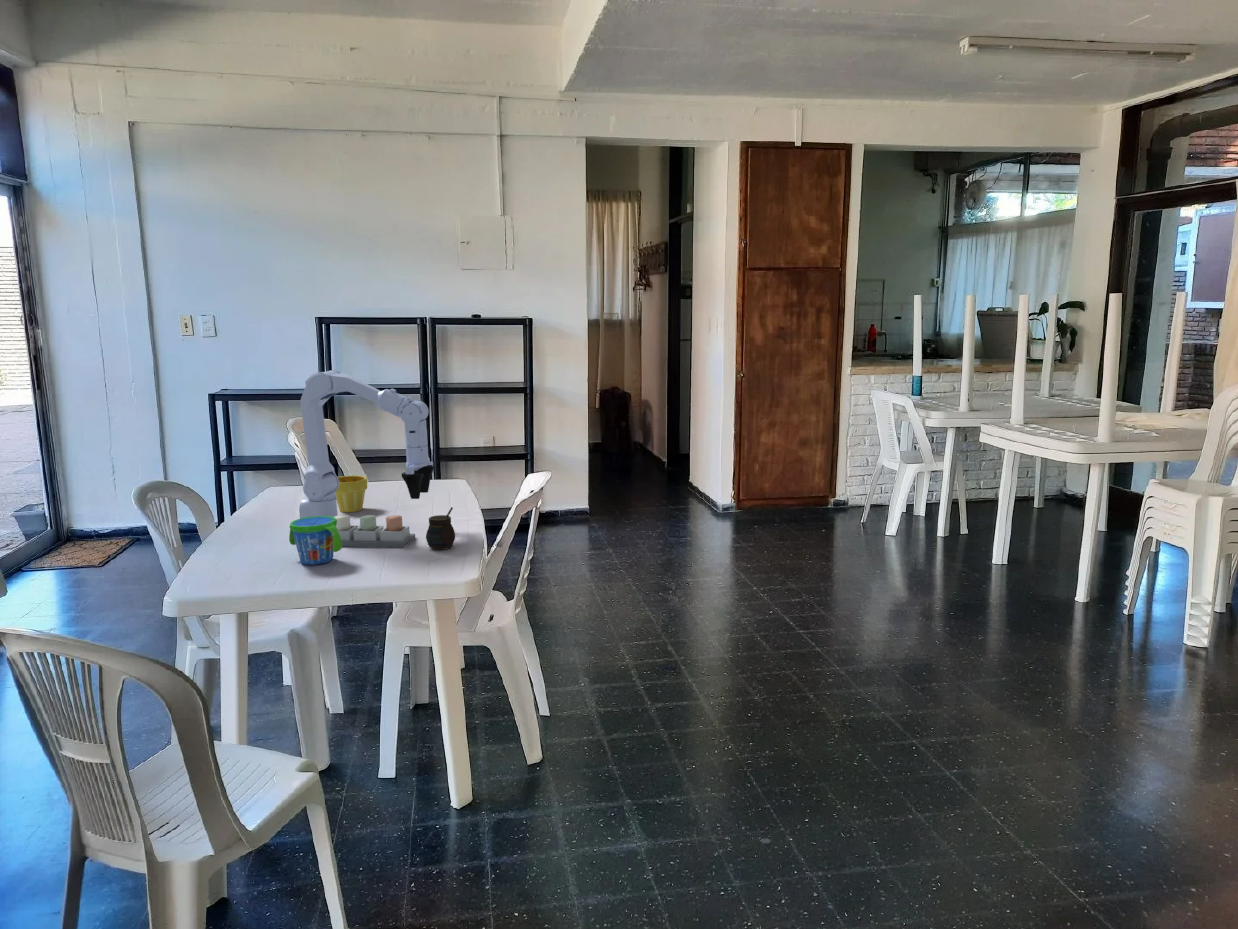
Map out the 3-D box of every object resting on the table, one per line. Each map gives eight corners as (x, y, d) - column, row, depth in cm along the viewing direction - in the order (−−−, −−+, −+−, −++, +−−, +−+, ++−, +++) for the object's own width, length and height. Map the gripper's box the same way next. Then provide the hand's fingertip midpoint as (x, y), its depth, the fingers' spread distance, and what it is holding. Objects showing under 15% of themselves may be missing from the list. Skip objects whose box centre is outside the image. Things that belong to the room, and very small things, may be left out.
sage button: (358, 533, 216) (357, 518, 215) (364, 529, 220) (363, 515, 219) (373, 534, 215) (372, 519, 215) (379, 530, 219) (378, 515, 218)
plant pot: (362, 514, 249) (360, 482, 247) (328, 514, 249) (325, 482, 247) (373, 506, 259) (371, 475, 257) (340, 506, 259) (338, 475, 257)
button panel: (322, 546, 214) (321, 532, 214) (336, 537, 223) (335, 523, 223) (403, 547, 213) (402, 533, 212) (415, 538, 221) (414, 524, 221)
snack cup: (278, 561, 202) (274, 521, 200) (316, 551, 211) (312, 512, 209) (317, 572, 193) (314, 530, 191) (355, 561, 202) (352, 520, 200)
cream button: (332, 533, 216) (331, 518, 216) (338, 529, 220) (337, 514, 219) (347, 533, 216) (346, 518, 215) (353, 529, 220) (352, 515, 219)
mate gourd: (420, 549, 211) (418, 510, 209) (442, 542, 217) (440, 505, 216) (440, 553, 207) (438, 514, 205) (462, 546, 213) (460, 508, 212)
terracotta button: (384, 534, 215) (383, 519, 214) (390, 530, 219) (389, 515, 218) (399, 534, 215) (398, 519, 214) (404, 530, 219) (404, 515, 218)
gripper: (422, 450, 216) (425, 501, 219) (439, 441, 231) (441, 489, 233) (396, 450, 217) (399, 501, 219) (414, 441, 231) (417, 489, 234)
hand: (419, 495), depth 226 cm, fingers open, 7 cm apart
